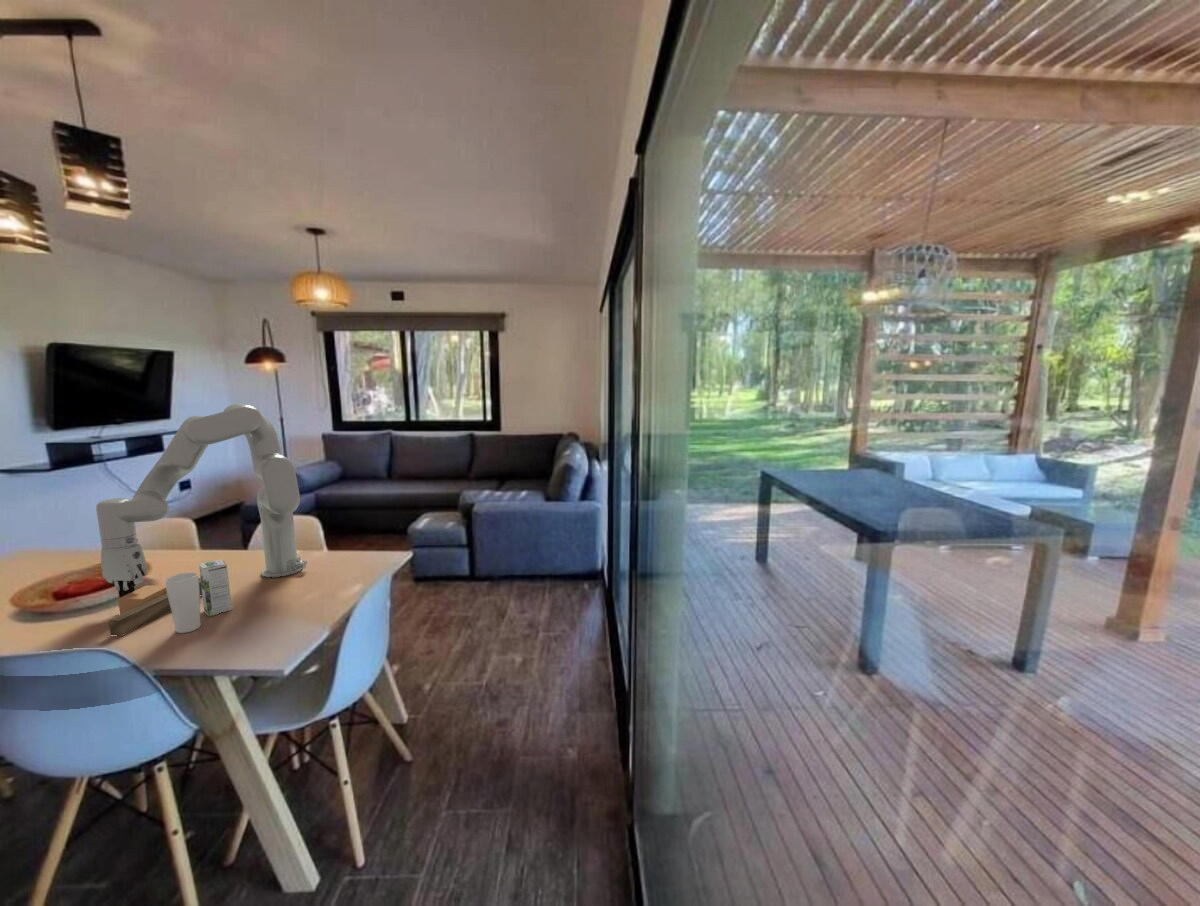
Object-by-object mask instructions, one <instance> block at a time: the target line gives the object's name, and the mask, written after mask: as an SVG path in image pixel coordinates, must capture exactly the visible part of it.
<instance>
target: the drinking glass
mask: <svg viewBox="0 0 1200 906" xmlns="http://www.w3.org/2000/svg"><path fill="white" fill-rule="evenodd" d="M198 578H199V576H198V573H196V572H183V573H178V574H174V575H172V576H169V577H167V578H166V579H165V586H166V591H167V596H168V600H169V604H170V608H171V611H170V612H171V614H172V619H173V623H174V628H175V632H176V633H179V634H187V633H191V632H194V631H196V630H198V629H200V627H201V623H202V622H201V605H200V604H201V603H200V602H201V601H200V599H201V596H200V591H199V581H198Z"/></svg>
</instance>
